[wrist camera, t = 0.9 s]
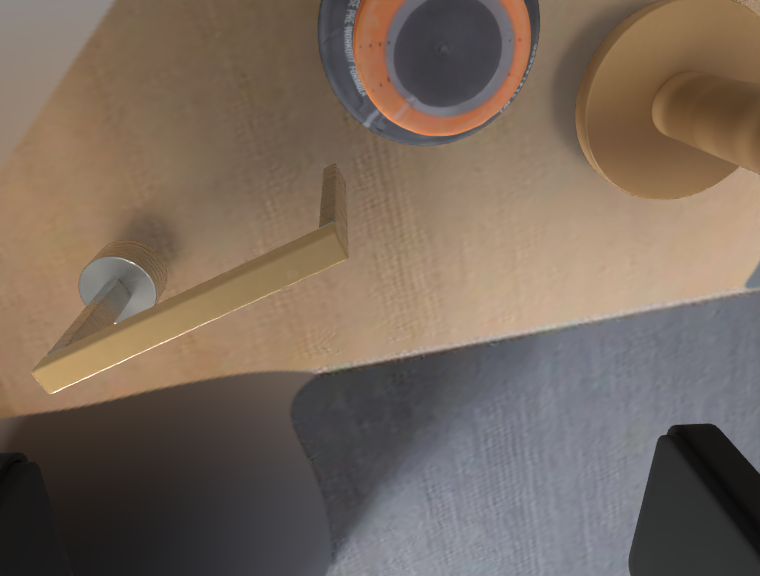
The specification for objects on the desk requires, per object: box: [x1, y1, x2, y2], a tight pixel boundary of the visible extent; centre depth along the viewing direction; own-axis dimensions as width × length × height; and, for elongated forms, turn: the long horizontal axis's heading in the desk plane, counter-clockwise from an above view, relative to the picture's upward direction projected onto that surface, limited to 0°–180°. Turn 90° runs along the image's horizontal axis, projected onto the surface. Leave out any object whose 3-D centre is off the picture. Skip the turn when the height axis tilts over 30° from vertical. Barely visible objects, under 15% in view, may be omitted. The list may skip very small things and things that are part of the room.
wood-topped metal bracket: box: [31, 164, 349, 394], centre depth 23 cm, size 12×3×8 cm, turn 115°
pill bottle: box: [318, 0, 540, 146], centre depth 18 cm, size 6×6×11 cm
